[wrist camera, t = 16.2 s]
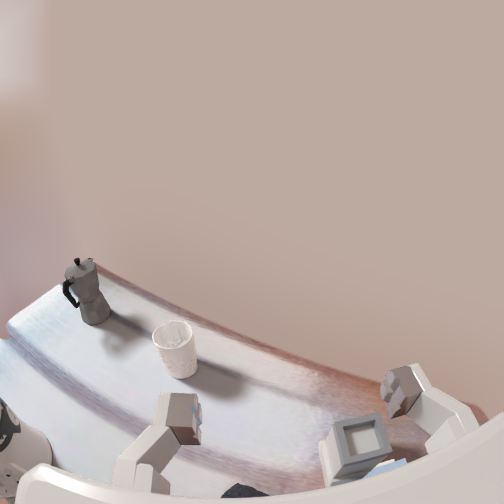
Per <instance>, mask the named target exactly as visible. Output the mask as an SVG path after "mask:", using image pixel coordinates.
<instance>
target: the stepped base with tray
mask: <svg viewBox="0 0 504 504" xmlns="http://www.w3.org/2000/svg"><path fill="white" fill-rule="evenodd" d="M318 449H319V455H320V460H321V465H322V471H323V476H324V482H325V488H327V487H332V486H336V485H341V484H345V483H349V482H353V481H356V480H360V479H362V478H363V477H365V476H366V475H367V474H368V473H369V472H370V471H371V470H372V469H373V468H374V467H376V466H377V465H378V464H379V463H381V462H382V461H383V460H384V459H385V458H386V457H387V456H388V455H390V454H391V453H392V452H393V450H392V447H391V444H390V441H389V438H388V436H387V433H386V430H385V427H384V424H383V421H382V418H381V416H380V413H375V414H371V415H367V416H362V417H358V418H353V419H348V420H343V421H337V422H334V424H333V426H332V428H331V431H330V433H329V435H328V437H327V439H324V440H320V442H319V444H318Z"/></svg>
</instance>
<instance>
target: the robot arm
mask: <svg viewBox="0 0 504 504" xmlns="http://www.w3.org/2000/svg"><path fill="white" fill-rule="evenodd" d="M385 376H386V379H385V380H384V381H383V382H382V384H381V386H380V393H381V397H382V399H383V401H385V402H386V403H387V407H386V409H387V411H388V413H389V416H390V418H391V419H392V418H395V417H399V416H402V415H405V414H406V415H407V416H408V417H409V418H410V419H412V420H413V421H414V422H415V423H416V424H418V425H419V426H420V427H421V428H423V429H424V430H425V431H426V432H428V433H429V434H430V435H431V437H430V438H429V439H428V440H427V441H426V443H425V447H426V449H427V452H428V455H426V456H423V457H421V458H419V459H417V460H414V461H412V462H409V463H407V464H404V465H402V466H399V467H396V468H394V469H391V470H388V471H385V472H382V473H379V474H376V475H373V476H370V477H367V478H363V479H360V480H356V481H353V482H349V483H345V484H341V485H336V486H332V487H327V488H323V489H317V490H312V491H306V492H300V493H293V494H285V495H277V496H266V497H251V498H199V497H184V496H174V495H170V483H169V481H167V480H166V479H165V478H164V477H163V476H162V475H161V474H160V473H161V472H162V470H163V469H164V468H165V467H166V465H167V464H168V463H169V461H170V460H171V459H172V457H173V456H174V455H175V454H176V452H177V451H178V450H179V448H180V447H181V445H201V430H200V427H199V426H200V425H201V424H202V410H201V405H200V403H198V396H197V394H184V393H162V392H160V394H159V396H158V401H157V406H156V412H155V417H154V423H153V425H149V426H148V427H147V428H146V429H145V430H144V431H143V432H142V433H141V434H140V435H139V436H138V437H137V438H136V439H135V440H134V441H133V442H132V443H131V444H130V445H129V446H128V447H127V448H126V449H125V450H124V451H123V452H122V453H121V454H120V455H119V456H118V457H117V458H116V463H115V468H114V473H113V479H112V484H107V483H103V482H99V481H96V480H92V479H89V478H85V477H82V476H79V475H76V474H73V473H70V472H67V471H65V470H62V469H59V468H57V467H54V466H51V463H52V452H51V447H50V444H49V442H48V440H47V438H46V437H45V436H44V434H43V433H41V432H40V431H39V430H37V429H35V428H33V427H31V426H29V425H27V424H26V423H24V422H23V421H22V420H20V419H19V418H18V417H17V416H16V414H15V413H14V412H13V411H12V410H11V409H10V408H9V407H8V405H7V404H6V403H5V402H4V401H3V400H2V399H1V398H0V498H9V497H16V498H15V504H504V411H503V412H501V413H500V414H499V415H497V416H495V417H494V418H492V419H491V420H489V421H488V422H486V423H485V424H483V425H482V426H479V424H478V422H477V420H476V418H475V417H474V415H473V413H472V411H471V409H470V408H469V407H468V406H466V405H465V404H463V403H461V402H459V401H458V400H456V399H454V398H452V397H451V396H449V395H447V394H445V393H444V392H442V391H440V390H439V389H437V388H432V386H431V384H430V382H429V381H428V379H427V377H426V376H425V374H424V372H423V370H422V369H421V367H420V365H419V364H417V363H414V364H411V365H408V366H403V367H400V368H397V369H393V370H389V371H388V372H387V373H386V375H385Z"/></svg>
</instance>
